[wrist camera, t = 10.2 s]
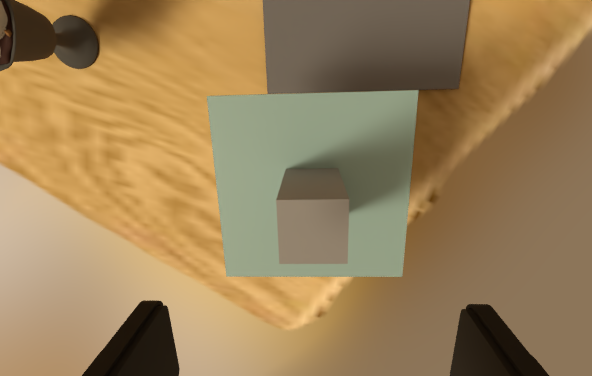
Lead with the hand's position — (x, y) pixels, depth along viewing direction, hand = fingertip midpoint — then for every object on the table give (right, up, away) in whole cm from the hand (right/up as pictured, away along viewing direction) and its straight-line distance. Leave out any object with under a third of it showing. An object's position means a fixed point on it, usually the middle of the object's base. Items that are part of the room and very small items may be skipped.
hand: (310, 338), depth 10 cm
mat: (+6, +24, +19) cm, 31 cm away
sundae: (-23, +20, +22) cm, 37 cm away
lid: (+1, +5, +15) cm, 16 cm away
